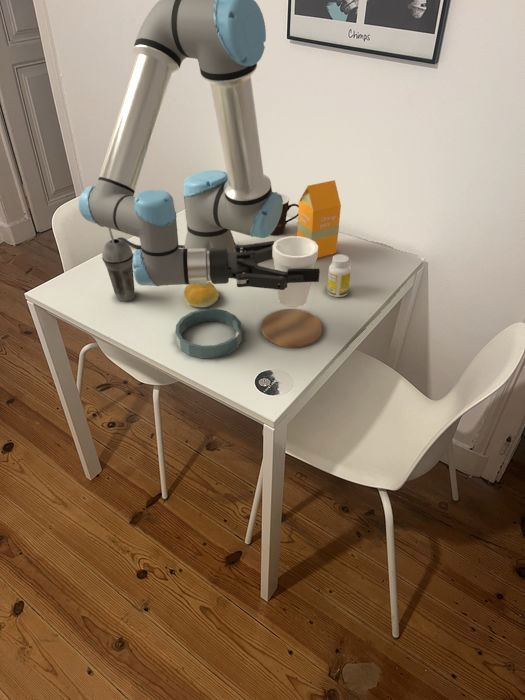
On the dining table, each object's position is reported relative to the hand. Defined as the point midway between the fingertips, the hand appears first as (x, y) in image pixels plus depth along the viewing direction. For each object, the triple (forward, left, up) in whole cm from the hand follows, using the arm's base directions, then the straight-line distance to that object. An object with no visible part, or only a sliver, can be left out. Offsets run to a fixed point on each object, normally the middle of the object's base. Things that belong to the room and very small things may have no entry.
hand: (315, 262), depth 112 cm
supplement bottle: (-4, +17, -17) cm, 25 cm away
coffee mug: (-37, +33, -17) cm, 53 cm away
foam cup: (-3, -3, -9) cm, 10 cm away
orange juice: (-21, +31, -17) cm, 41 cm away
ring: (-15, -18, -17) cm, 29 cm away
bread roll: (-28, -8, -17) cm, 34 cm away
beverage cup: (-43, -20, -17) cm, 51 cm away
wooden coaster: (-3, -3, -17) cm, 18 cm away
